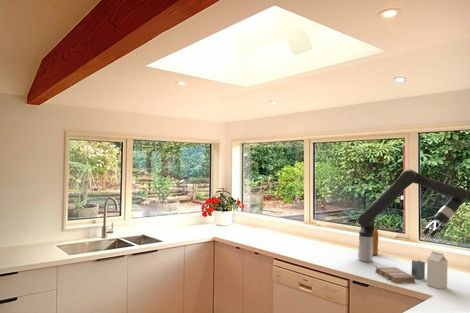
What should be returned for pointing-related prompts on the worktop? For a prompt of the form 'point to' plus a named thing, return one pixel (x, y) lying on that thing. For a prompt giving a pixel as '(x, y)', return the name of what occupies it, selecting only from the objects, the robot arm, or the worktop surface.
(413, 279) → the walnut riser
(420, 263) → the block
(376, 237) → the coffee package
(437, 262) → the milk carton
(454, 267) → the worktop surface
